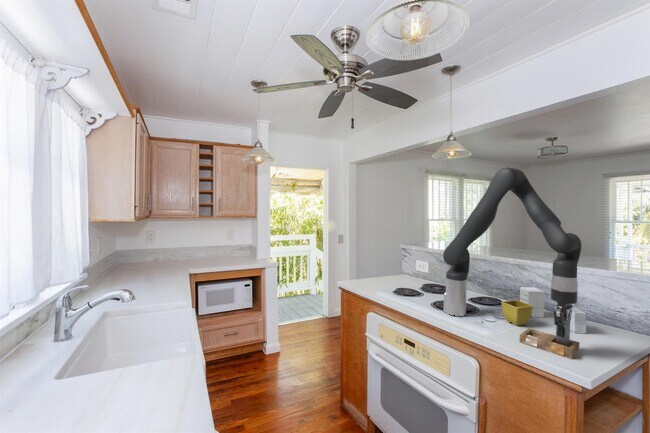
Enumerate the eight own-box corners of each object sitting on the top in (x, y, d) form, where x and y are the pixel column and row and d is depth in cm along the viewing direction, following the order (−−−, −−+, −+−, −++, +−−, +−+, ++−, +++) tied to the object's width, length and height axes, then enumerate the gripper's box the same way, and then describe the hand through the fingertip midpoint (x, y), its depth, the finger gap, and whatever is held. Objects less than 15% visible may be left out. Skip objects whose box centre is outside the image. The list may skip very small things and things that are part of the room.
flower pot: (517, 328, 129) (517, 307, 129) (500, 320, 138) (500, 301, 137) (532, 326, 132) (533, 305, 131) (515, 318, 140) (516, 299, 140)
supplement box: (535, 312, 149) (535, 287, 148) (544, 318, 141) (545, 291, 141) (519, 311, 150) (520, 286, 149) (527, 317, 142) (528, 290, 142)
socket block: (519, 342, 116) (519, 334, 116) (528, 335, 122) (529, 327, 122) (571, 359, 103) (571, 350, 103) (579, 350, 110) (579, 341, 110)
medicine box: (586, 334, 124) (587, 313, 124) (573, 333, 125) (574, 312, 124) (574, 326, 132) (575, 307, 131) (562, 325, 132) (563, 306, 132)
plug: (554, 342, 110) (554, 315, 110) (557, 339, 112) (558, 313, 112) (567, 346, 107) (568, 319, 106) (570, 343, 109) (571, 316, 109)
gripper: (557, 283, 116) (555, 326, 117) (545, 289, 107) (543, 336, 108) (582, 287, 110) (580, 333, 111) (571, 294, 102) (570, 344, 102)
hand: (562, 334), depth 110 cm, fingers closed on plug, 4 cm apart
